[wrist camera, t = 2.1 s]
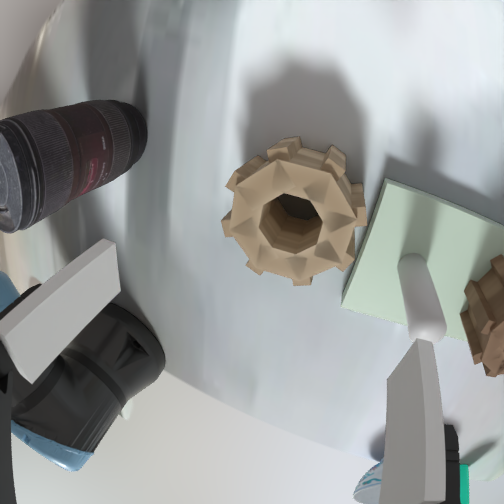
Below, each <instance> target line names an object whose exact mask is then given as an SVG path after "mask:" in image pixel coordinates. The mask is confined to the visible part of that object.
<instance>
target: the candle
mask: <svg viewBox="0 0 504 504" xmlns="http://www.w3.org/2000/svg"><path fill="white" fill-rule="evenodd" d="M460 501H461V504H469V471H468V465H466V464H462V465H460Z"/></svg>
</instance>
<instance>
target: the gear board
mask: <svg viewBox="0 0 504 504" xmlns="http://www.w3.org/2000/svg"><path fill="white" fill-rule="evenodd" d="M500 254H502V255H503V256H504V226H503V225H501V224H499V223H497V222H495V221H493V220H491V219H488V218H486V217H484V216H482V215H480V214H477V213H475V212H473V211H471V210H468V209H466V208H464V207H461V206H459V205H456V204H454V203H452V202H449V201H447V200H444V199H442V198H439V197H437V196H434V195H431V194H429V193H426V192H424V191H421V190H418V189H416V188H413V187H410V186H407V185H404V184H402V183H399V182H396V181H393V180H390V179H387V178H385V179H384V183H383V186H382V189H381V192H380V195H379V198H378V201H377V204H376V207H375V210H374V213H373V216H372V219H371V222H370V225H369V228H368V230H367V233H366V236H365V239H364V241H363V244H362V247H361V249H360V252H359V255H358V257H357V260H356V263H355V265H354V268H353V270H352V273H351V275H350V278H349V280H348V283H347V285H346V288H345V290H344V292H343V295H342V299H341V307H342V308H345V309H349V310H352V311H356V312H359V313H363V314H366V315H370V316H373V317H377V318H380V319H384V320H388V321H391V322H395V323H398V324H402V325H406V326H408V332H409V338H410V340H411V342H412V343H414V341H415V340H416V338H419V339H423V340H427V341H431V342H432V343H433V345H434V344H436V343H437V342H439V341H440V340H441V339H442V338H443V337H444V336H447V337H451V338H455V339H459V340H463V341H467V337H466V334H465V331H464V328H463V325H462V322H461V318H460V313H462V312H464V311H466V310H467V309H468V305H469V302H468V300H467V298H466V295H465V293H464V290H465V288H466V286H467V284H468V283H469V281H470V279H471V280H473V281H476V282H478V281H479V280H480V279H481V278H482V277H483V276H484V275H485V274H486V273H487V272H488V271H489V270H490V269H491V268H492V267H491V262H490V260H491V259H493V258H495V257H496V256H498V255H500ZM467 342H468V341H467Z"/></svg>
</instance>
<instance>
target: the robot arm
mask: <svg viewBox="0 0 504 504" xmlns="http://www.w3.org/2000/svg"><path fill="white" fill-rule="evenodd" d="M120 291H121V289H120V281H119V272H118V263H117V253H116V243H114V242H112V241H109V240H106V239H104V238H103V239H101V240H100V241H99V242H97V243H96V244H95V245H93V246H92V247H90V248H89V249H88V250H86V251H85V252H84V253H82V254H81V255H80V256H78V257H77V258H76V259H74V260H73V261H72V262H70V263H69V264H68V265H66V266H65V267H64V268H62V269H61V270H60V271H59V272H57V273H56V274H55V275H54V276H52V277H51V278H50V279H49V280H47V281H46V282H45V283H44V284H37V285H35V286H33V287H31V288H29V289H28V290H26V291H25V292H24V293H23V294H22V295H20V294H19V292H18V291H17V289H16V288H15V286H14V285H13V283H12V281H11V280H10V278H9V277H8V275H7V274H6V273H4V272H2V271H0V504H17V503H16V496H15V488H14V479H13V469H12V451H11V432H12V433H13V434H14V435H15V436H16V437H18V438H19V439H20V440H21V441H23V442H24V443H26V444H27V445H28V446H29V447H31V448H32V449H33V450H35V451H36V452H38V453H39V454H41V455H42V456H44V457H45V458H47V459H48V460H50V461H52V462H53V463H55V464H56V465H58V466H60V467H61V468H63V469H65V470H68V471H78V470H79V469H80V468H82V466H83V465H84V464H85V463H86V461H87V460H88V459H89V458H90V457H91V456H92V455H93V454H94V451H95V449H96V447H97V446H98V444H99V443H100V441H101V440H102V438H103V437H104V435H105V434H106V432H107V431H108V429H109V428H110V426H111V425H112V423H113V422H114V420H115V419H116V417H117V416H118V414H119V413H120V412H121V410H122V408H123V407H124V405H125V404H126V403H127V401H128V400H129V399H130V398H132V397H133V396H135V395H136V394H137V393H139V392H140V391H142V390H143V389H145V388H146V387H147V386H149V385H150V384H152V383H153V382H154V381H155V380H156V379H157V378H158V377H159V375H160V374H161V372H162V371H163V369H164V367H165V357H164V353H163V351H162V349H161V347H160V345H159V343H158V342H157V340H156V339H155V337H154V336H153V335H152V333H151V332H150V331H149V330H148V329H147V328H146V327H145V326H144V325H143V324H142V323H141V322H140V321H139V320H138V319H137V318H135V317H134V316H133V315H131V314H130V313H129V312H127V311H125V310H124V309H122V308H120V307H118V306H116V305H114V304H111V303H109V302H110V301H111V300H112V299H113V298H114V297H115V296H116V295H117V294H118V293H119V292H120ZM458 451H459V443H458V436H457V434H456V431H455V429H454V427H453V425H446V424H444V423H443V411H442V402H441V393H440V386H439V378H438V372H437V365H436V359H435V354H434V348H433V343H432V342H431V341H427V340H423V339H419V338H416V340H415V341H414V343H413V344H412V346H411V347H410V349H409V350H408V352H407V353H406V354H405V356H404V357H403V359H402V360H401V361H400V363H399V364H398V366H397V367H396V368H395V370H394V371H393V372H392V374H391V375H390V376H389V378H388V379H387V412H386V434H385V449H384V461H383V472H382V481H381V489H380V496H379V503H378V504H461V501H460V463H459V460H460V459H459V453H458Z"/></svg>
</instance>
